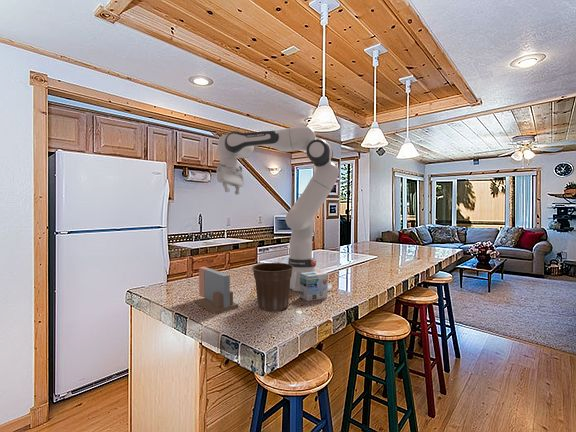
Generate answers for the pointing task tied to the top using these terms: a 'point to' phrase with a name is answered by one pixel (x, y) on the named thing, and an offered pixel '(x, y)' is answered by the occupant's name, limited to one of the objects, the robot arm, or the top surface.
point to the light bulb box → (313, 285)
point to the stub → (202, 281)
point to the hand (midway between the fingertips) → (232, 193)
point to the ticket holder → (217, 292)
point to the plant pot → (272, 285)
